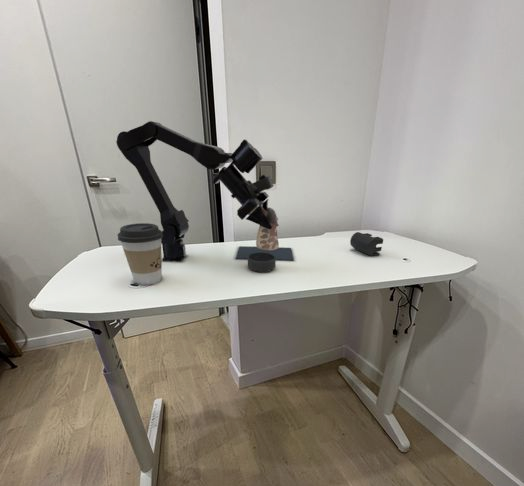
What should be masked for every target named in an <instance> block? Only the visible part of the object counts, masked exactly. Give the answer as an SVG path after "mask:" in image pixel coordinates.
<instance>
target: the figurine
mask: <svg viewBox="0 0 524 486" xmlns="http://www.w3.org/2000/svg"><path fill="white" fill-rule="evenodd" d="M262 211H263V213H264V214H265V216H266V218H267V219H268V221H269V222H270V224H271V226H272V228H271V229H270V230H269V229H267V228H265V227H263V226H261V225H259V227H258V229H257V233H256V240H255V247H257V248H259V249H262V250H275V249H277V248H280V246H279V245H280V244H279V237H278V228H277V227H279V223H278V221H279V218H278V216H277V212H276V211H275V209H274V208H272V207H268V208H267V209H266V211H265V209H264V208H263V209H262Z"/></svg>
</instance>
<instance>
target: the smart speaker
mask: <svg viewBox="0 0 524 486" xmlns="http://www.w3.org/2000/svg"><path fill="white" fill-rule="evenodd" d="M276 262H277V260H276V259H275V257H274V256H273V255H271V254H268V253H254V254H251V255H249V256H248V260H247V268H248V269H249V270H250V271H252V272H256V273H267V272H271V271H273V270H274V269H275V268H276Z"/></svg>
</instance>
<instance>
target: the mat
mask: <svg viewBox="0 0 524 486" xmlns="http://www.w3.org/2000/svg"><path fill="white" fill-rule="evenodd" d="M254 253H268V254H271V255H273V256H274V257H275V259H276V261H284V262H285V261H287V262H294V259H295V258H294V256H293V255H294V254H293V251H292V247H279V248H277V249H275V250H262V249H259V248H257V246H245V245H244V246H242V245H240V246H238V250H237V253H236V257H235V260H247V261H248V256H249V255H251V254H254Z"/></svg>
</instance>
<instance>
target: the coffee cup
mask: <svg viewBox="0 0 524 486" xmlns="http://www.w3.org/2000/svg"><path fill="white" fill-rule="evenodd" d="M162 231H163V230H161V229H160V228H159V226H158V225H157V224H155V223H147V222H145V223H144V222H141V223H140V222H139V223H131V224H130V223H129V224H126V225H123V226H120V228H119V232H118V233H117V240H118V241H119V242H120V244H121V247H122V250H123V252H124V256H125V259H126V261H127V264H128V267H129V270H130V273H131V276H132V278H133V281H134V283H136V284H137V285H140V286H150V285H155V284H157V283H159V282H161V281H162V277H163V273H162V272H163V271H162V270H163V268H162V267H163V266H162V265H163V264H162V262H163V261H162V259H163V258H162V255H163V251H162V244H161V238H162V237H163V234H162Z"/></svg>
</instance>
